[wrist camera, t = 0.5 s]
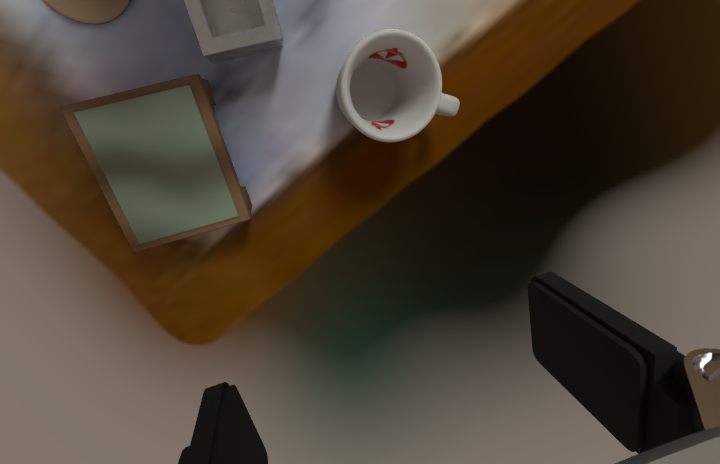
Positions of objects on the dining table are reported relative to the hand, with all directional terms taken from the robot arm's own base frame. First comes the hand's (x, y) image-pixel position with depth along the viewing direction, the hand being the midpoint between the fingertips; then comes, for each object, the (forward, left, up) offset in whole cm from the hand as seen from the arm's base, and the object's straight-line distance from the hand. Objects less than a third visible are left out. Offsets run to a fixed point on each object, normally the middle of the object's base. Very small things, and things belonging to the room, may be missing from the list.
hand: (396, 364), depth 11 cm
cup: (-7, +9, -28) cm, 30 cm away
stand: (-6, -11, -28) cm, 30 cm away
